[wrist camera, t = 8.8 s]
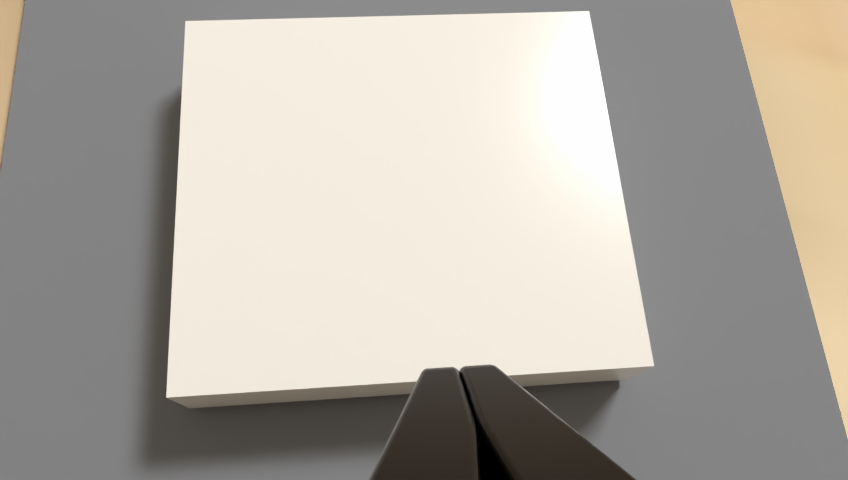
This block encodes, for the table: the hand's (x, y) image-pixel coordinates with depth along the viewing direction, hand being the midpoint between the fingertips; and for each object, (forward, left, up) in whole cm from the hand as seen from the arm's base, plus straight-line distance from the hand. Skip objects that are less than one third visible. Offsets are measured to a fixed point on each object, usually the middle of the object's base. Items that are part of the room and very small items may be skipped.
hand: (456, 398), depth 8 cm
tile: (+1, -1, -7) cm, 7 cm away
